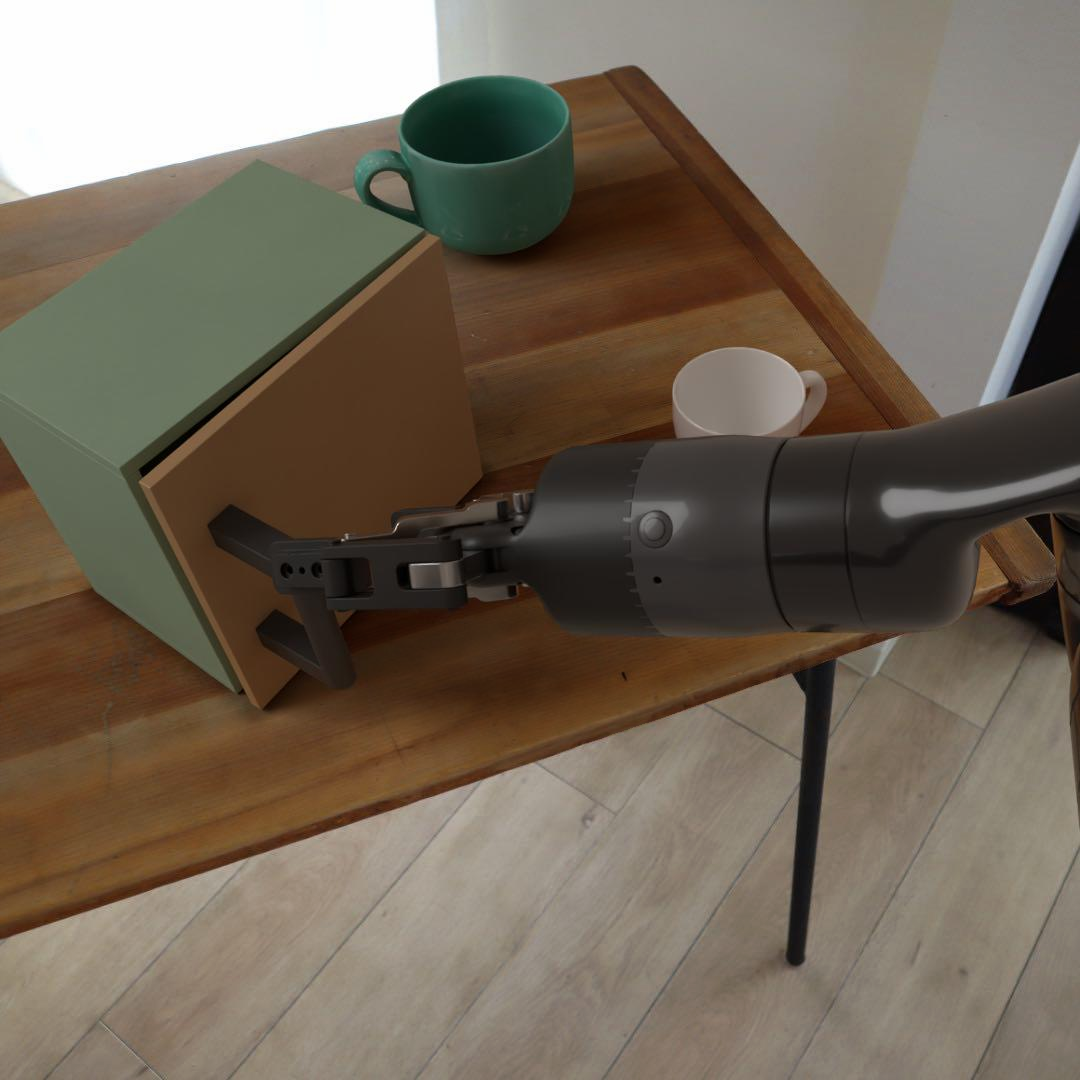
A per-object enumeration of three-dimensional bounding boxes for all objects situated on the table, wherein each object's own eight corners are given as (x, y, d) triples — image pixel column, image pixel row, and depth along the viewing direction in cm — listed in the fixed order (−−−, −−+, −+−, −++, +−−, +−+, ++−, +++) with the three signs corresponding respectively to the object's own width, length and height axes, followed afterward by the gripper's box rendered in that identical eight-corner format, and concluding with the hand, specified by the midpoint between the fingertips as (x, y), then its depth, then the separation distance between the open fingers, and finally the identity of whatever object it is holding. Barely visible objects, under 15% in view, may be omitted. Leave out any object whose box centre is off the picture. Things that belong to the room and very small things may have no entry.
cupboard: (471, 471, 76) (425, 228, 62) (237, 694, 66) (119, 468, 52) (328, 396, 82) (257, 158, 68) (94, 591, 72) (-47, 362, 58)
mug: (556, 168, 97) (547, 59, 90) (597, 256, 89) (590, 144, 82) (359, 210, 96) (334, 103, 89) (383, 304, 88) (357, 194, 81)
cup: (650, 451, 76) (649, 372, 71) (785, 399, 78) (794, 319, 73) (709, 532, 71) (712, 454, 66) (852, 475, 73) (866, 395, 68)
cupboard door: (557, 511, 73) (531, 271, 59) (338, 760, 63) (244, 541, 49) (473, 471, 76) (429, 233, 62) (251, 703, 66) (137, 481, 52)
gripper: (608, 686, 39) (240, 673, 47) (749, 595, 51) (439, 597, 59) (585, 459, 38) (213, 485, 46) (735, 422, 50) (421, 448, 58)
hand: (341, 548), depth 52 cm, fingers open, 8 cm apart
